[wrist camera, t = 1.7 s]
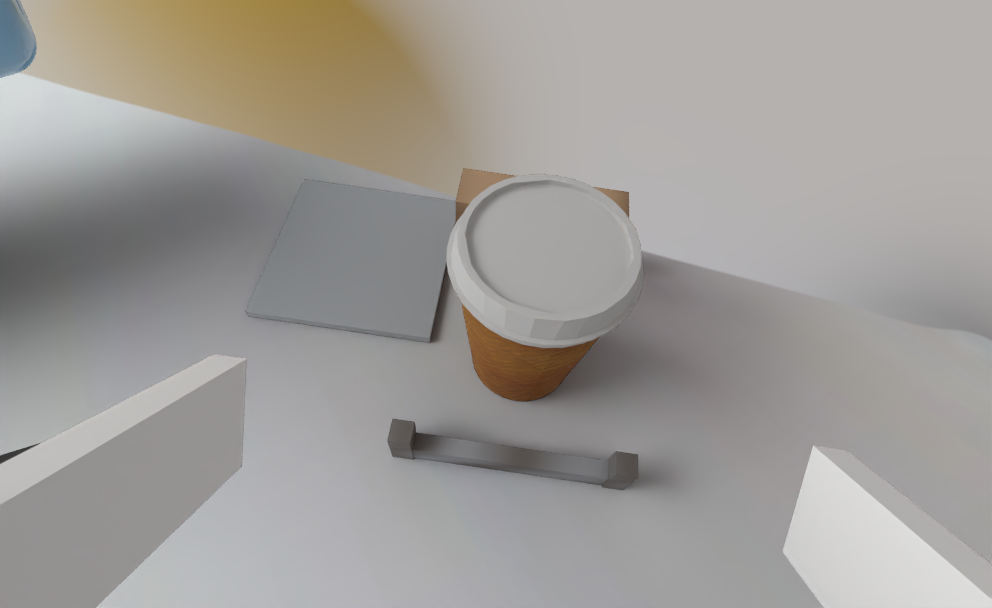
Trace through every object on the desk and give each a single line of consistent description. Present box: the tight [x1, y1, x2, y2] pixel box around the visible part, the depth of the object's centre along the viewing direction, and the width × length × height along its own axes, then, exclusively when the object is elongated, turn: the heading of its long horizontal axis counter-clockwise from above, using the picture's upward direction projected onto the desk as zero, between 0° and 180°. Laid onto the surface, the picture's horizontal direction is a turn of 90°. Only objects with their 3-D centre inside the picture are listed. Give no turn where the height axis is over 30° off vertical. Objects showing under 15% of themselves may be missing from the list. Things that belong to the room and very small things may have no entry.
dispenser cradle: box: [388, 168, 638, 490], centre depth 33 cm, size 13×18×6 cm
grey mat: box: [245, 179, 456, 343], centre depth 37 cm, size 12×12×1 cm
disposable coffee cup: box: [446, 174, 644, 401], centre depth 29 cm, size 10×10×12 cm
